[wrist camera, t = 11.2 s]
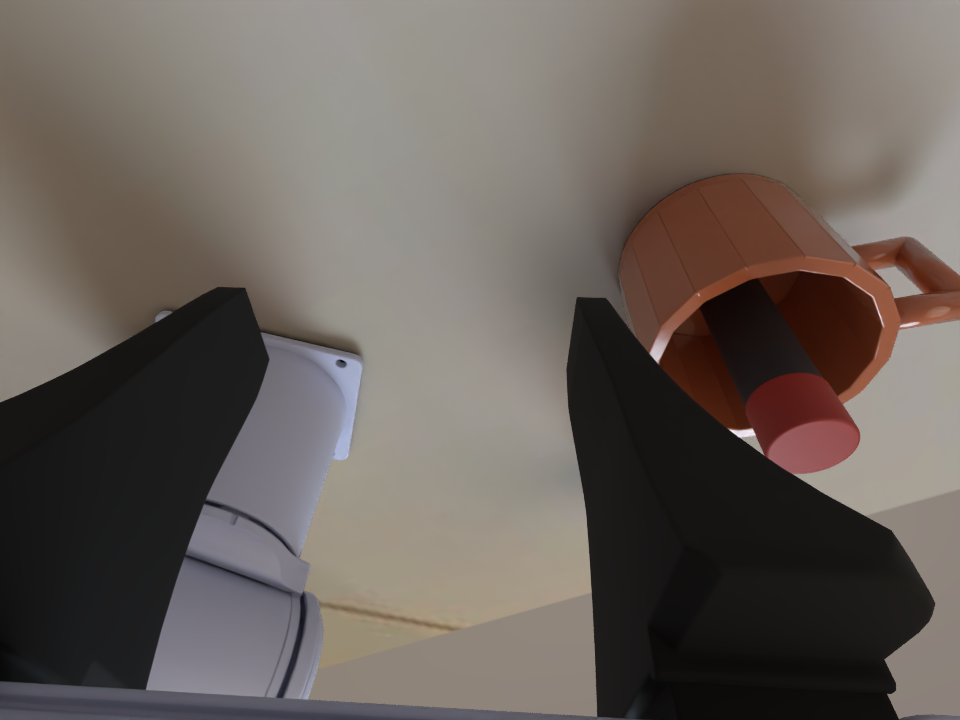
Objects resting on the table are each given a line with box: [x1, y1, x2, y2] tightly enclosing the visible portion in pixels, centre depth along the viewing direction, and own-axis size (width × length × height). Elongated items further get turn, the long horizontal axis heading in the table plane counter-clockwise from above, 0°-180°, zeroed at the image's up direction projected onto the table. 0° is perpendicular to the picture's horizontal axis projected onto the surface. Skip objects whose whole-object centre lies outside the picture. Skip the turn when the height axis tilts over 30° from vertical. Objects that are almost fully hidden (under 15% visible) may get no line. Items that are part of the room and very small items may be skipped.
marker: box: [699, 278, 860, 474], centre depth 17 cm, size 2×2×9 cm
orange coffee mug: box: [619, 174, 960, 438], centre depth 19 cm, size 10×7×6 cm
